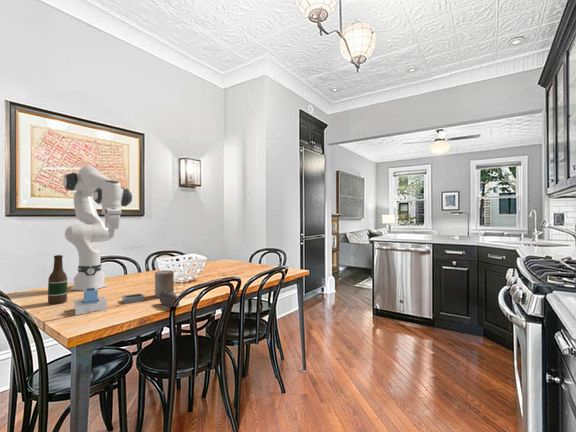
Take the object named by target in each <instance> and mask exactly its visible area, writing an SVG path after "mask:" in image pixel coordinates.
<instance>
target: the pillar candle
mask: <svg viewBox="0 0 576 432" xmlns="http://www.w3.org/2000/svg"><path fill="white" fill-rule="evenodd" d="M174 282H175V281H174V270H166V269H164V270H160V271H159V270H158V271H156V272H155V273H154V297H155V298H158V299H159V298H160V293H161V292H162V291H164V290H167V291H170V292H172V293H174V291H175V290H174V289H175V288H174V285H175V283H174Z"/></svg>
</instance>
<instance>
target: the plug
mask: <svg viewBox="0 0 576 432" xmlns="http://www.w3.org/2000/svg"><path fill="white" fill-rule="evenodd" d="M98 290H99V289H95V288H94V287H93V288H87V290H83V299H84V303H90V302H97V297H99V296H98V293H99V292H98Z"/></svg>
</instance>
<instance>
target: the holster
mask: <svg viewBox="0 0 576 432" xmlns="http://www.w3.org/2000/svg"><path fill="white" fill-rule="evenodd" d="M122 302H123V303H124V304H125V305H127V304H132V303H141V302H145V295H143V293H135V294H134V293H133V294H125V295H122Z"/></svg>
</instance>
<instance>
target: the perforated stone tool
mask: <svg viewBox="0 0 576 432" xmlns="http://www.w3.org/2000/svg"><path fill="white" fill-rule="evenodd" d="M176 297H178V295H176V294H175V293H174V292H173V293H172V292H170V291H167V290H164V291H162V292H161V293H160V298H158V299H159V302H160V303H161V304H162V305H163V306H166V307H168V308H171V306H172V304H173V302H174V300H175V299H176ZM179 306H180V301H179V302H178V304H177V305H176V308H175V309H177V308H178V307H179Z"/></svg>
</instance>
